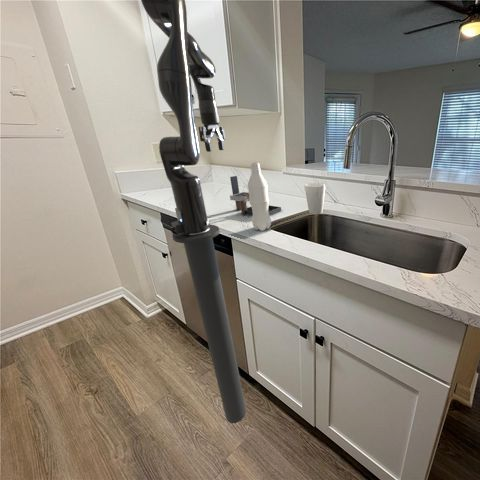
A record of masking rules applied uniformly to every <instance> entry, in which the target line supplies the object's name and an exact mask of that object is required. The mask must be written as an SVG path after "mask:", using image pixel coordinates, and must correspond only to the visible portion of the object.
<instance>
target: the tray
mask: <svg viewBox="0 0 480 480" xmlns="http://www.w3.org/2000/svg"><path fill="white" fill-rule="evenodd" d="M240 211H241V215H243V213H242V210H240ZM268 211H269V216H273V215H275V214H277V213H280V212H282V207H281V206H275V205H269V206H268ZM245 216H251V217H253V211H252V207H251V206H248V207H247V208H246V215H245Z"/></svg>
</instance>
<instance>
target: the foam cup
mask: <svg viewBox="0 0 480 480" xmlns="http://www.w3.org/2000/svg"><path fill="white" fill-rule="evenodd" d="M304 192H305V197H306V203H307V209H308V213H309V215H315V216H316V215H322V214H323V212H324V204H325V202H324V201H325V192H326V183H323V182H309V183H308V182H307V183H305V184H304Z"/></svg>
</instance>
